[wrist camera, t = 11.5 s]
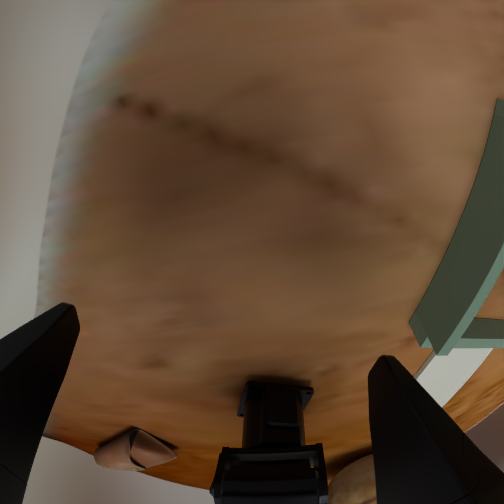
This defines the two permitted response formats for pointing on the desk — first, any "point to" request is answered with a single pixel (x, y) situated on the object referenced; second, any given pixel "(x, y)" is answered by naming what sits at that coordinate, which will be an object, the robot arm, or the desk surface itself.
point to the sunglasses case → (133, 452)
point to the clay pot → (354, 483)
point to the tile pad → (449, 371)
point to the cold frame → (469, 263)
